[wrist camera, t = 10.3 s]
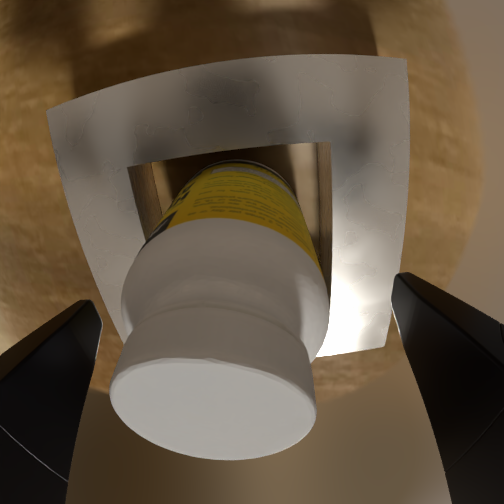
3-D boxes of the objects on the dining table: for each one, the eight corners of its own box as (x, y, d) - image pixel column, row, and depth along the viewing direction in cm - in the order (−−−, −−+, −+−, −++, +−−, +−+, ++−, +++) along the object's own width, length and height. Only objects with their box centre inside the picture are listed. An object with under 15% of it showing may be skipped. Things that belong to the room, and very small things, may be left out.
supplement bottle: (190, 142, 12) (55, 271, 3) (315, 177, 13) (420, 352, 4) (168, 254, 15) (92, 440, 6) (276, 280, 15) (294, 478, 7)
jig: (146, 333, 17) (134, 365, 15) (77, 104, 11) (46, 110, 9) (370, 315, 16) (384, 346, 14) (379, 63, 10) (406, 59, 8)
